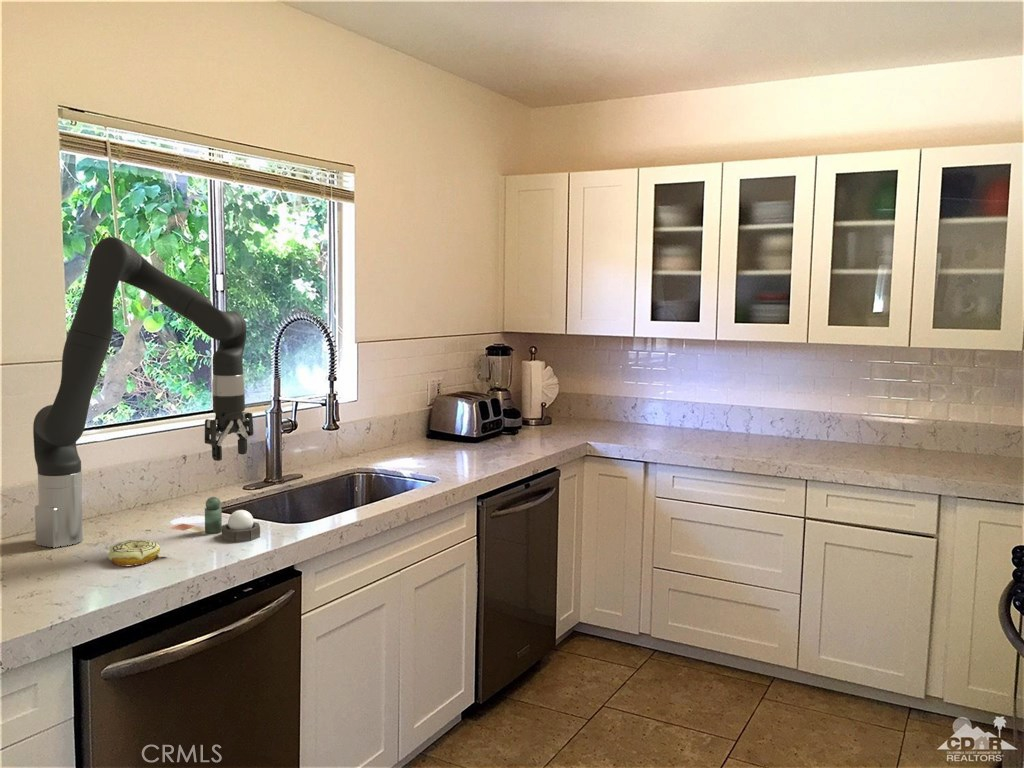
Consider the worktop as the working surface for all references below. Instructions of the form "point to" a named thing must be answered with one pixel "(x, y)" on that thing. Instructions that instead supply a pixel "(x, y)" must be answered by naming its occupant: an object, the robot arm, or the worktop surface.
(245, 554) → the worktop surface
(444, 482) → the worktop surface
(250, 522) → the white ball
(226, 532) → the game board
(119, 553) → the decorated donut
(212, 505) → the pawn
